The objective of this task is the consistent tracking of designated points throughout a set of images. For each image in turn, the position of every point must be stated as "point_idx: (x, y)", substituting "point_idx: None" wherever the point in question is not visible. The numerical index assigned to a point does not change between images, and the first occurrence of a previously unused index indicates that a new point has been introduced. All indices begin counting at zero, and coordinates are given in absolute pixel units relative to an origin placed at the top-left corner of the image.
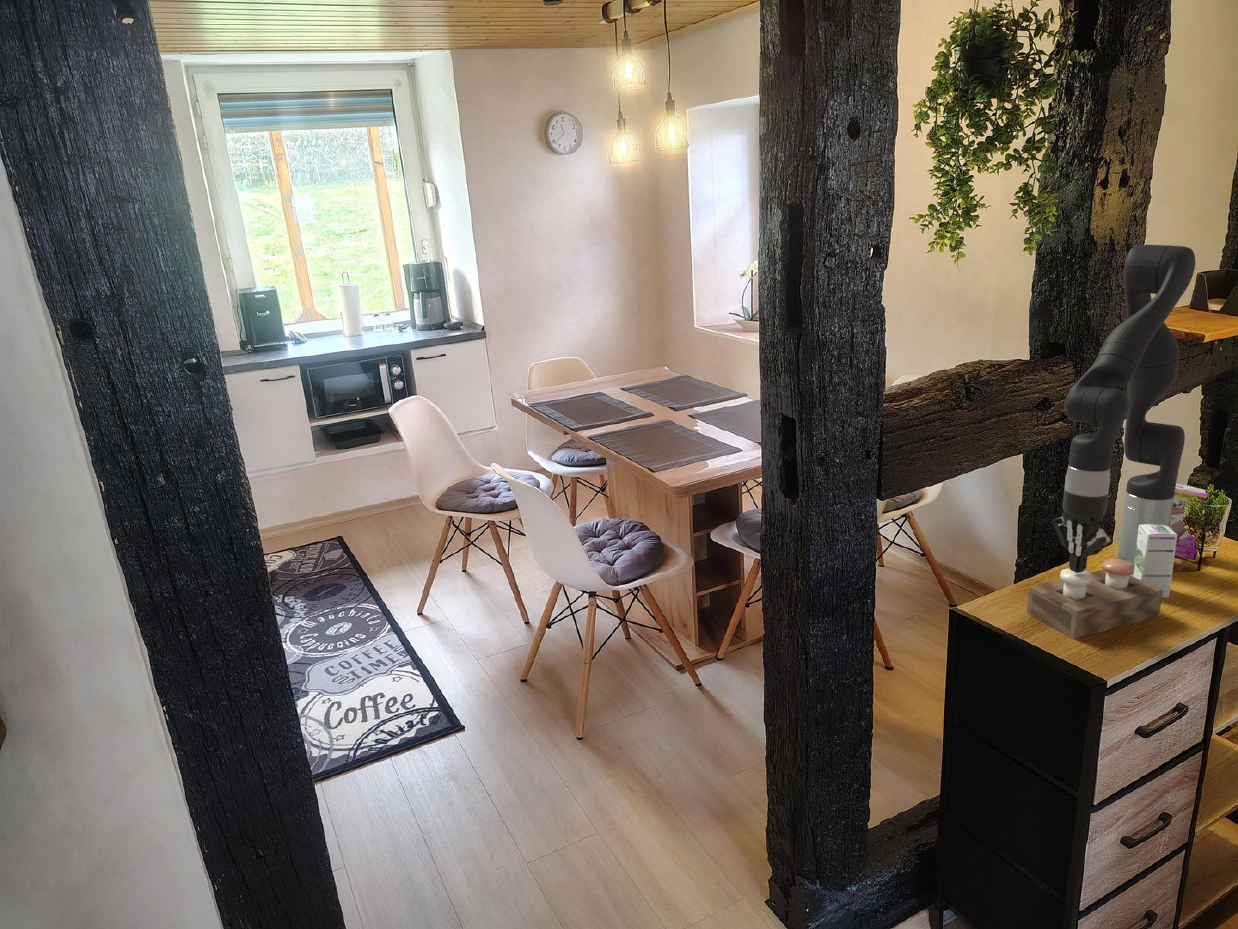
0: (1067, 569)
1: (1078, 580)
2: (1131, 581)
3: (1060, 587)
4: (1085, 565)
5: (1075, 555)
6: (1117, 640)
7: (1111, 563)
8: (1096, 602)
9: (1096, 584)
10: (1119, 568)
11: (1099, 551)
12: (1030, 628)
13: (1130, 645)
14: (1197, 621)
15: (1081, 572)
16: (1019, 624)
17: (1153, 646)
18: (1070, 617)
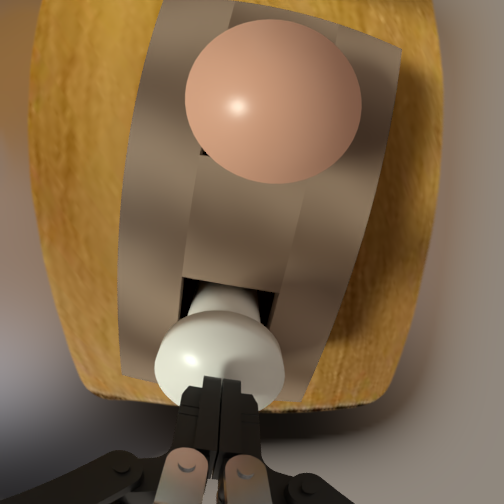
0: (163, 367)
1: (260, 408)
2: None
3: (165, 320)
4: (256, 419)
5: (217, 479)
6: (357, 280)
7: (241, 119)
8: (311, 328)
9: (222, 191)
10: (314, 154)
11: (341, 498)
12: None
13: (385, 277)
14: (418, 38)
15: (219, 353)
16: None
17: (418, 241)
18: None
